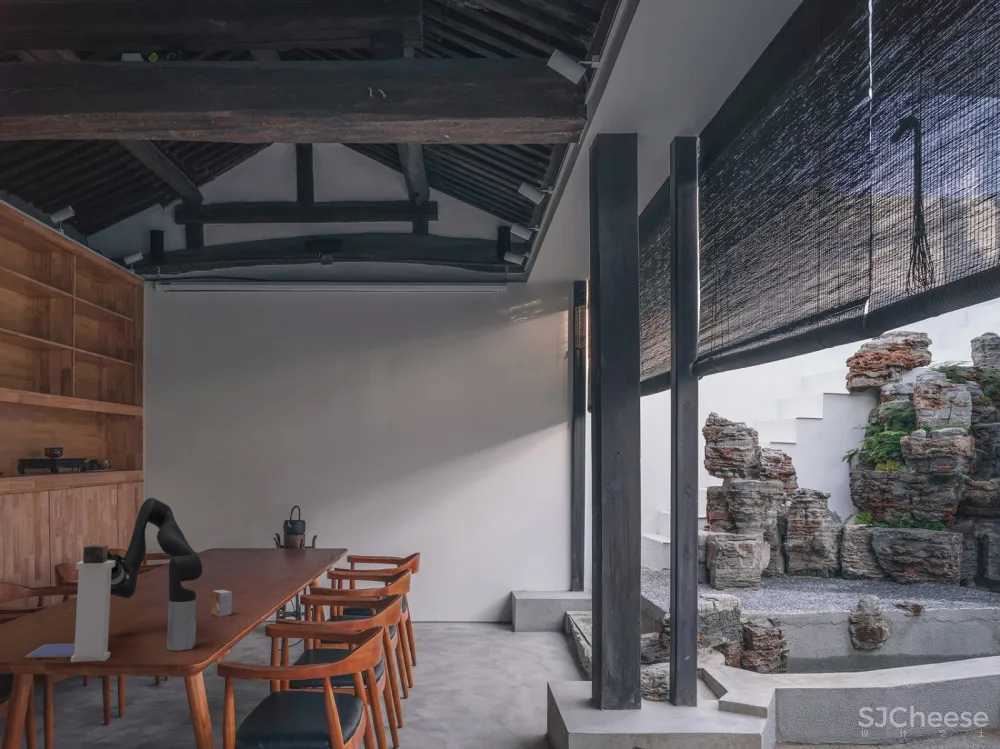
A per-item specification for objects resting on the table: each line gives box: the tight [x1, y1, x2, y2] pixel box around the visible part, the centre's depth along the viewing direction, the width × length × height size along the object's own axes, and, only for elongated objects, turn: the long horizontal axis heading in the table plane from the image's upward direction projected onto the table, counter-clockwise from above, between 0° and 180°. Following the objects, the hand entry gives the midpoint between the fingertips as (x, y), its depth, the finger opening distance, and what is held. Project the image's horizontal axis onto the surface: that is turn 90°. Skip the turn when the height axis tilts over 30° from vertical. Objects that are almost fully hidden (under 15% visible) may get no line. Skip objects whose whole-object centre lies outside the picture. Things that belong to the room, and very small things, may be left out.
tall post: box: [70, 560, 115, 663], centre depth 288 cm, size 11×6×33 cm, turn 100°
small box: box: [210, 589, 233, 617], centre depth 363 cm, size 8×6×10 cm
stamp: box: [82, 544, 111, 563], centre depth 293 cm, size 6×15×6 cm, turn 10°
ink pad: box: [24, 643, 75, 659], centre depth 295 cm, size 16×18×1 cm
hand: (100, 552), depth 294 cm, fingers closed on stamp, 2 cm apart
